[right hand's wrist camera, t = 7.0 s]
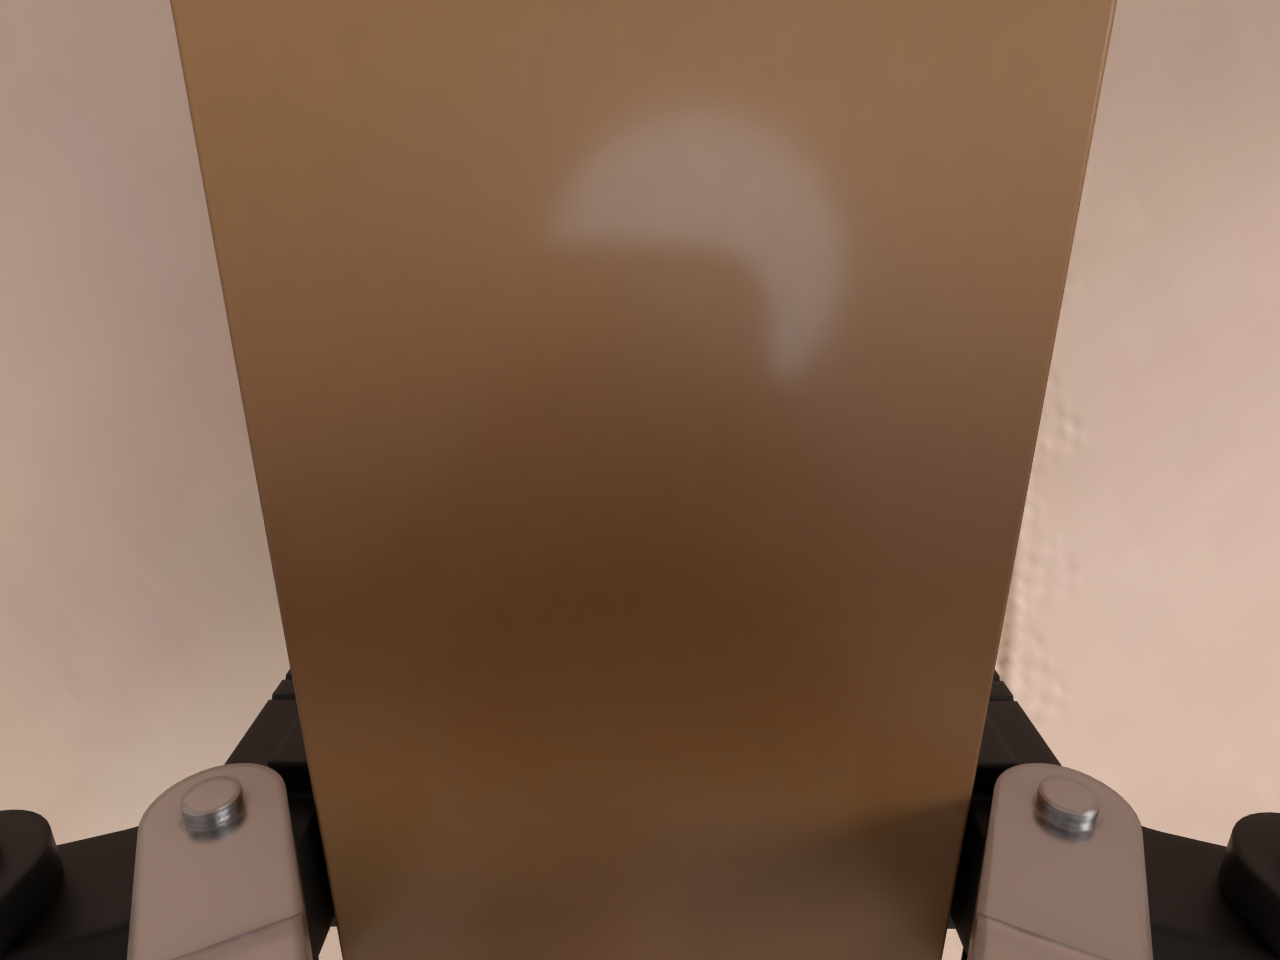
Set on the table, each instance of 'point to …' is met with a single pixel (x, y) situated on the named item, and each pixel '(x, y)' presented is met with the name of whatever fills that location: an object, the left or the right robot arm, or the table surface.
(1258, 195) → the table surface
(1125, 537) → the table surface
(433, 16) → the box
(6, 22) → the table surface
